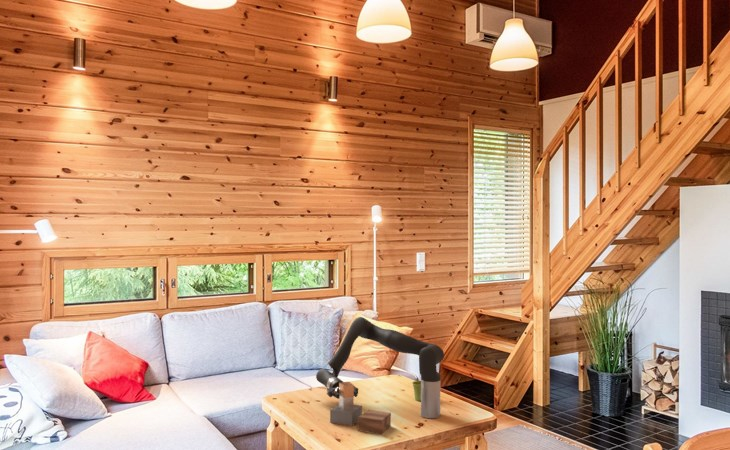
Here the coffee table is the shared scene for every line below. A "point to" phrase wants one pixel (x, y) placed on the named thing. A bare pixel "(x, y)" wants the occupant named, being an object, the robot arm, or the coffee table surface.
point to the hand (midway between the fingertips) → (347, 395)
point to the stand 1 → (345, 415)
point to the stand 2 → (374, 421)
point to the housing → (346, 395)
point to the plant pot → (417, 390)
